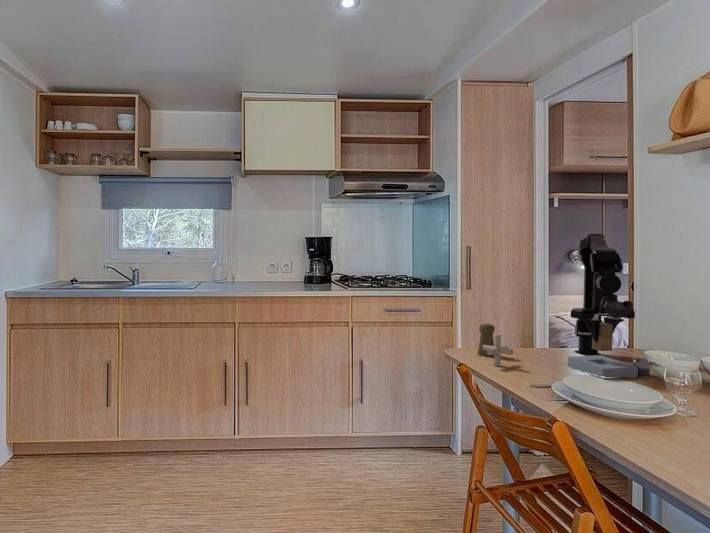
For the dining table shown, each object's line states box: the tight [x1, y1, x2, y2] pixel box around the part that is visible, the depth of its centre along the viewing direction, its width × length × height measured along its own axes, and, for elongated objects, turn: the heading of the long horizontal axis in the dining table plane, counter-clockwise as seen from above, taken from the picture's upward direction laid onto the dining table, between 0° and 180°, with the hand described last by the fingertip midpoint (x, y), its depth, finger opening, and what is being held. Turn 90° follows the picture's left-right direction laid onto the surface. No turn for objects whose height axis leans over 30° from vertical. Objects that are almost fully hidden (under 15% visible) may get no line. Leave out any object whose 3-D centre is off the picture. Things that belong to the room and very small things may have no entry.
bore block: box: [567, 354, 639, 378], centre depth 156 cm, size 16×12×3 cm
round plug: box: [632, 356, 651, 377], centre depth 152 cm, size 4×4×5 cm
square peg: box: [592, 321, 614, 352], centre depth 156 cm, size 4×4×8 cm
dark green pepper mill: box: [477, 323, 496, 358], centre depth 178 cm, size 6×6×11 cm
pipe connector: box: [482, 333, 514, 367], centre depth 163 cm, size 10×10×10 cm
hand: (601, 341), depth 156 cm, fingers closed on square peg, 4 cm apart
